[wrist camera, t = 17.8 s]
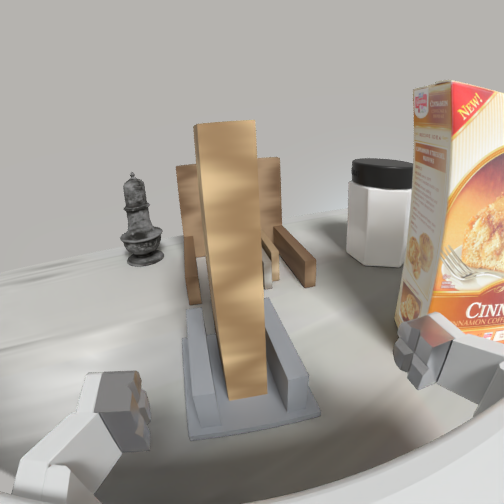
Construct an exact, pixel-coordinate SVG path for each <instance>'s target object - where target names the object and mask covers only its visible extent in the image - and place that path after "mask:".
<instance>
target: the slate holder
mask: <svg viewBox="0 0 504 504" xmlns="http://www.w3.org/2000/svg"><path fill="white" fill-rule="evenodd" d="M264 315H265V340H266V366H267V393H268V394H265V395H259V396H254V397H248V398H243V399H237V400H231V401H229V398H228V394H227V389H226V384H225V380H224V375H223V370H222V365H221V360H220V355H219V350H218V345H217V338H216V334H210V335H206V331H205V325H204V319H203V313H202V307H200V308H193V309H186V318H187V334H188V338H182V348H183V367H184V383H185V397H186V410H187V421H188V432H189V438H190V441H192V440H201V439H209V438H216V437H223V436H230V435H236V434H242V433H247V432H253V431H258V430H263V429H268V428H273V427H277V426H282V425H286V424H291V423H295V422H299V421H303V420H307V419H311V418H314V417H318V416H320V415H321V410H320V408H319V406H318V404H317V402H316V400H315V398H314V396H313V394H312V392H311V390H310V388H309V386H308V382H309V374H308V372H307V370H306V368H305V366H304V365H303V363H302V361H301V359H300V357H299V355H298V353H297V351H296V349H295V347H294V345H293V343H292V341H291V339H290V338H289V336H288V334H287V332H286V330H285V328H284V326H283V324H282V322H281V320H280V318H279V316H278V314H277V312H276V310H275V309H274V307H273V305H272V303H271V301H270V299H269V297H268V298H264Z"/></svg>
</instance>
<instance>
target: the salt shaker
mask: <svg viewBox="0 0 504 504" xmlns="http://www.w3.org/2000/svg"><path fill="white" fill-rule="evenodd" d="M130 176H131V178H130V179H129V180H128V181H127V182H126V183H125V184H124V186H123V187H124V196H125V202H126V207H125V208H124V210H125V211H126V212H127V218H128V231H127V232H126V233H124V234H123V235H122V236H121V238H120V239H121V241H123V242H124V246H125V247H126V249H127V250H128V251H129V252H131V253H132V255H131V256H130V257H129V258H128V260H127V262H128V264H129V265H131V266H147V265H151V264H154V263H156V262H159V261H160V260H162V259H163V257H164V254H163V252H161V251H159V250H156V248H157V247H158V246H159V244H160V240H161V233H162V229H160V228H158V227H154V226H152V223H151V221H150V218H149V211H148V207H149V206H150V204H149V203H147V201H146V194H145V186H144V182H143V181H142V180H140V179H137V178H134V173H133V172H132V173H131V175H130Z"/></svg>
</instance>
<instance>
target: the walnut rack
mask: <svg viewBox="0 0 504 504" xmlns="http://www.w3.org/2000/svg"><path fill="white" fill-rule="evenodd" d="M257 165H258V185H259V205H260V225H261V229H262V230H263V231H264V233H265V234H266V235H267V237H268V238H269V239H270V240H271V242H272V243H273V244H274V246H275V247H276V248H277V249H278V251H279V255H280V256H281V257H282V258H283V260H284V261H285V262H286V264H287V265H288V266H289V268H290V269H291V270H292V272H293V273H294V274H295V276H296V277H297V278H298V280H299V281H300V282H301V284H302V285H303V286H304V288H307V287H313V286H315V282H316V259H315V258H314V257H313V256H312V255H311V254H310V253H309V252H308V251H307V250H306V249H305V248H304V247H303V246H302V245H301V244H300V243H299V242H298V241H297V240H296V239H295V238H294V237H293V236H292V235H291V234H290V233H289V232H288V231H287V230H286V229H285V228H284V227H283V226H282V209H281V178H280V158H278V157H269V158H257ZM176 174H177V183H178V192H179V201H180V209H181V218H182V226H183V234H184V259H185V280H186V286H187V292H188V298H189V304H190V305H194V304H201V303H202V302H201V295H200V287H199V279H198V271H197V263H196V257H202V256H206V254H205V246H204V237H203V228H202V218H201V208H200V198H199V188H198V177H197V166H196V164H190V165H181V166H176Z"/></svg>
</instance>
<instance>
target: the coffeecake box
mask: <svg viewBox="0 0 504 504" xmlns="http://www.w3.org/2000/svg"><path fill="white" fill-rule="evenodd" d="M413 101H414V159H413V178H412V193H411V206H410V217H409V227H408V236H407V244H406V252H405V259H404V266H403V272H402V278H401V284H400V290H399V295H398V300H397V305H396V311H395V317H394V320H395V322H396V325H397V327H398V328H399V326H400V324H401V323H402V322H405V321H409V320H412V319H415V318H418V317H422V316H424V315H427V314H430V313H433V312H439V313H441V314H442V315H443V316H444V317H445V318H447V319H448V320H449V321H450V322H451V323H453V324H454V325H455V326H456V327H457V328H459V329H460V330H461V331H462V332H463V333H465V334H472V335H475V336H479V337H482V338H486V339H489V340H492V341H496V342H499V343H503V344H504V93H500V92H497V91H494V90H490V89H486V88H482V87H479V86H475V85H470V84H466V83H462V82H457V81H453V80H444V81H438V82H435V84H432V85H429V86H426V87H421V88H417V89H413Z"/></svg>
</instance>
